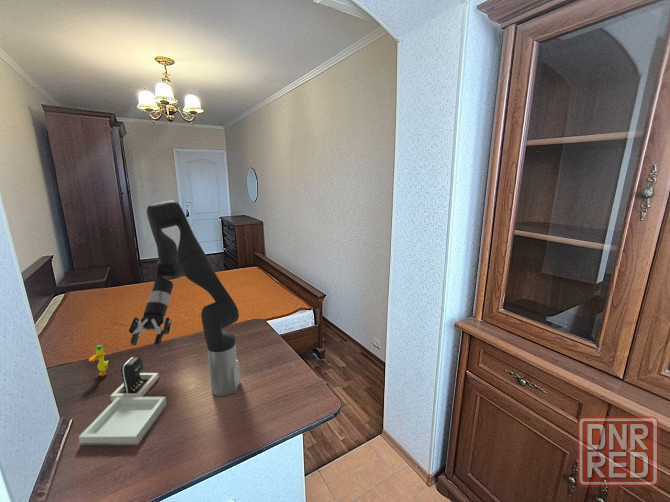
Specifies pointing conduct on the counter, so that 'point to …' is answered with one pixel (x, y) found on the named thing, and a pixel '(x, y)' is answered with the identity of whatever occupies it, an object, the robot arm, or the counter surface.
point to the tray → (123, 421)
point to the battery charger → (132, 374)
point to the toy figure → (100, 360)
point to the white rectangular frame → (144, 376)
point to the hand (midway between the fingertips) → (144, 345)
